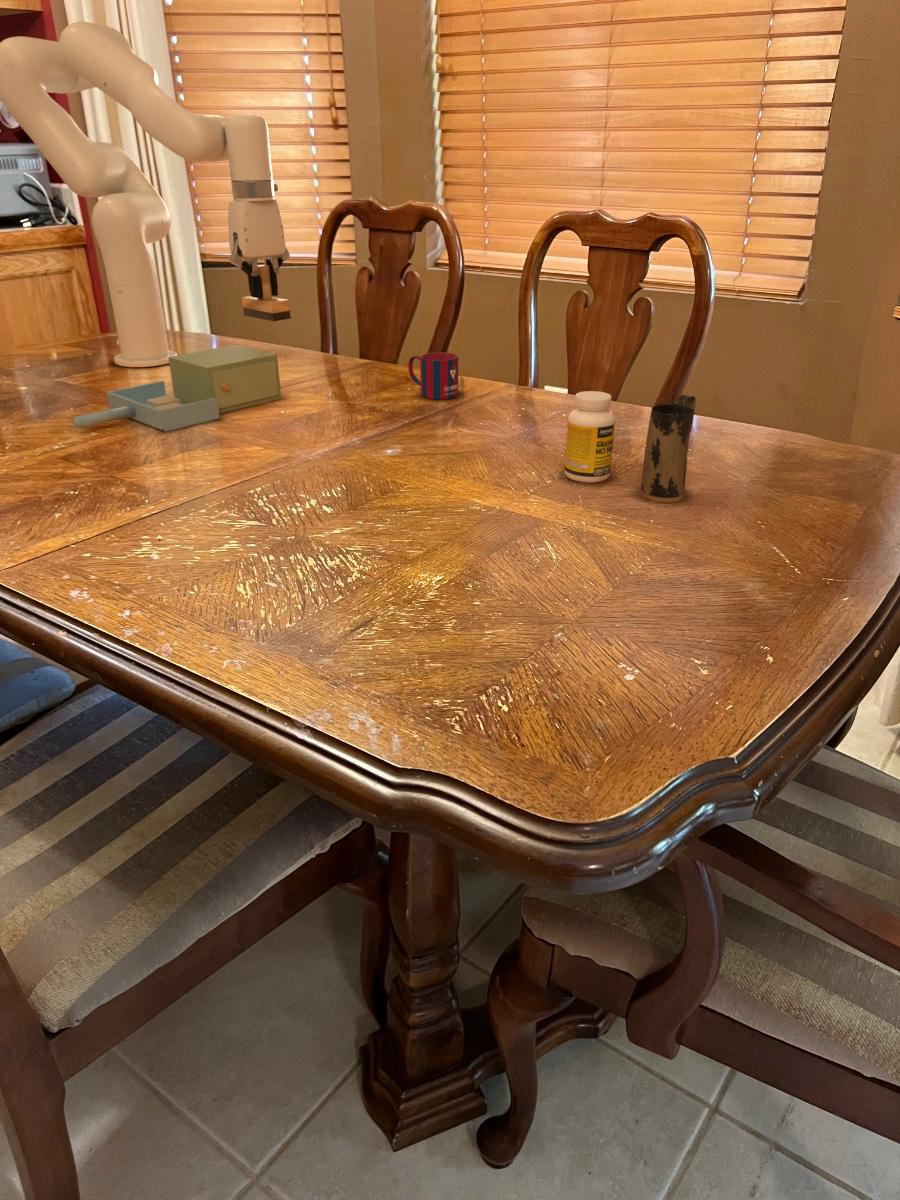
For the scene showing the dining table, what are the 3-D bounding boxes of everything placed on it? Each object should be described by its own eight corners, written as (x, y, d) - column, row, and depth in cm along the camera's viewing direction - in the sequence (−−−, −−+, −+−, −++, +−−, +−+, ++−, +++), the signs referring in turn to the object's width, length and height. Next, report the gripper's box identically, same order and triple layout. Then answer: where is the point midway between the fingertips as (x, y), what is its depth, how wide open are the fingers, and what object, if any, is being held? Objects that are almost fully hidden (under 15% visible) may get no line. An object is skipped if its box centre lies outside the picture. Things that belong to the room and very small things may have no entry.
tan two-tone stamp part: (243, 315, 170) (237, 264, 166) (260, 313, 173) (254, 262, 168) (274, 321, 164) (268, 268, 160) (290, 318, 167) (286, 266, 162)
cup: (440, 401, 150) (440, 362, 147) (400, 392, 156) (398, 354, 153) (465, 394, 155) (465, 355, 151) (425, 385, 161) (424, 348, 157)
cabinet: (175, 402, 151) (168, 357, 147) (242, 387, 160) (237, 344, 156) (217, 416, 143) (211, 369, 139) (285, 400, 152) (281, 355, 148)
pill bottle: (599, 487, 113) (606, 404, 108) (556, 478, 116) (561, 397, 110) (617, 473, 117) (624, 393, 112) (575, 465, 120) (581, 387, 115)
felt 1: (167, 395, 147) (168, 404, 148) (146, 399, 145) (147, 408, 145) (179, 399, 145) (181, 408, 146) (158, 404, 142) (159, 413, 143)
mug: (670, 505, 107) (682, 410, 101) (631, 495, 110) (641, 402, 104) (699, 488, 112) (712, 397, 107) (661, 479, 115) (672, 390, 110)
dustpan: (165, 400, 152) (162, 380, 150) (219, 418, 142) (217, 398, 140) (52, 424, 139) (47, 403, 137) (102, 446, 128) (98, 424, 127)
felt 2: (175, 402, 143) (176, 411, 144) (153, 407, 141) (154, 416, 141) (188, 406, 141) (189, 415, 142) (166, 411, 138) (167, 420, 139)
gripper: (277, 189, 166) (286, 289, 174) (203, 193, 155) (217, 299, 164) (301, 190, 161) (309, 293, 170) (227, 194, 151) (240, 303, 159)
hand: (264, 295), depth 167 cm, fingers closed on tan two-tone stamp part, 2 cm apart
